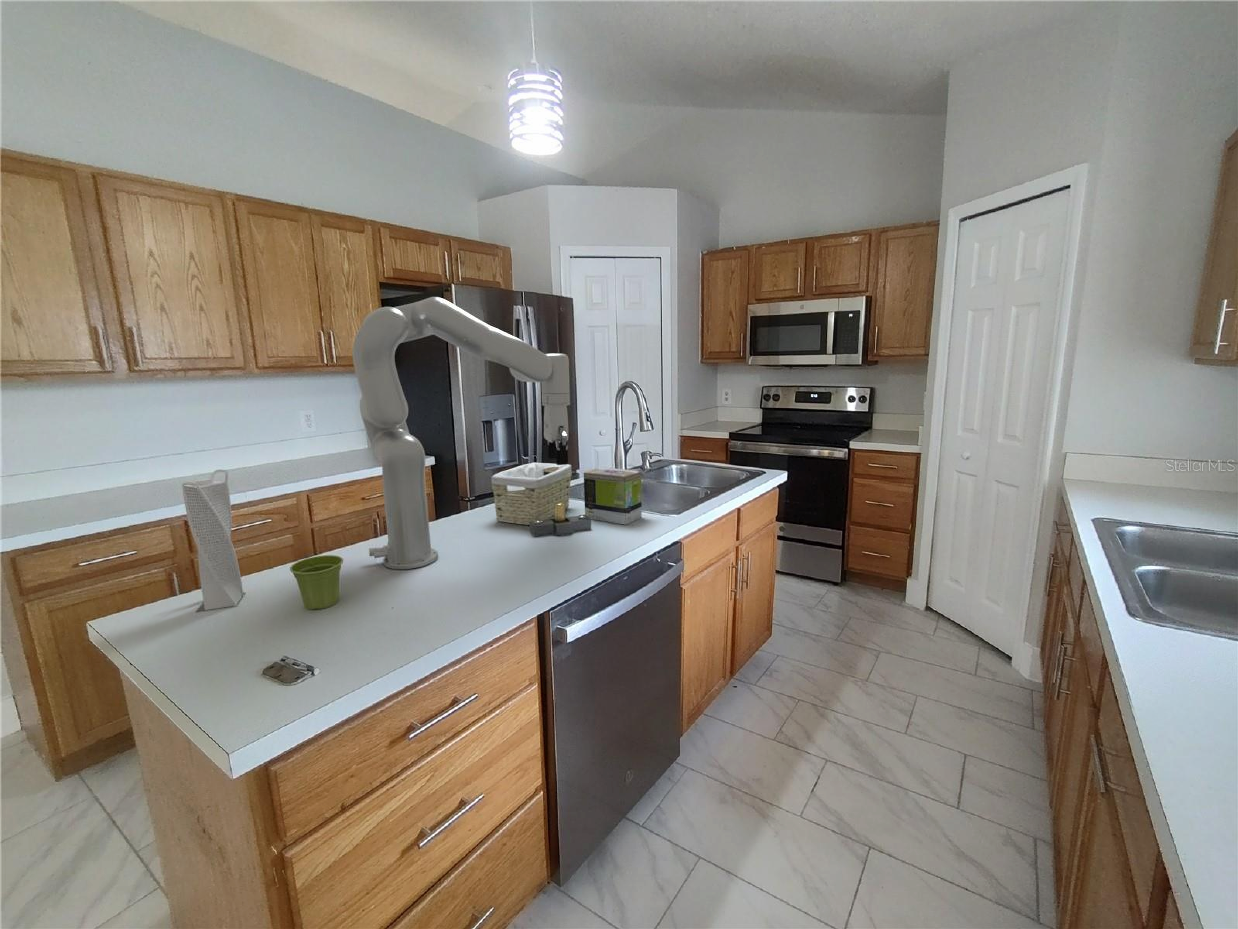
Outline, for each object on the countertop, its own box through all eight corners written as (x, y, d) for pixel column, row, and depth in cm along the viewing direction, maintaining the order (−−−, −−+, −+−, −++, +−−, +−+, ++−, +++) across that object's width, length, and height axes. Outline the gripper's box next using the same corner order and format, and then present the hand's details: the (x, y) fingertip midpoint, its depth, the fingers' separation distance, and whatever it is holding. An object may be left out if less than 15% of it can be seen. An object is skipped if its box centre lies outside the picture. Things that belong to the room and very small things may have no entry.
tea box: (642, 517, 169) (642, 470, 166) (625, 526, 161) (625, 476, 158) (602, 510, 177) (601, 465, 174) (583, 518, 169) (582, 471, 166)
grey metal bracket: (535, 538, 150) (534, 526, 150) (529, 529, 158) (528, 517, 158) (593, 531, 156) (592, 519, 155) (584, 522, 164) (584, 511, 163)
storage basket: (532, 503, 187) (530, 460, 184) (575, 507, 181) (573, 463, 178) (491, 523, 165) (488, 475, 162) (538, 529, 159) (536, 479, 156)
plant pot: (357, 599, 114) (352, 560, 112) (312, 618, 106) (307, 576, 104) (330, 590, 119) (325, 552, 117) (285, 607, 111) (280, 567, 109)
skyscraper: (253, 593, 119) (234, 465, 113) (243, 608, 111) (222, 473, 106) (207, 599, 116) (184, 469, 110) (193, 616, 108) (169, 477, 103)
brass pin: (556, 532, 155) (555, 505, 154) (553, 529, 158) (552, 502, 157) (567, 531, 156) (566, 504, 155) (564, 528, 159) (563, 501, 158)
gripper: (535, 398, 157) (538, 457, 160) (549, 402, 141) (551, 468, 144) (561, 397, 159) (563, 455, 162) (577, 401, 143) (579, 466, 147)
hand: (557, 461), depth 153 cm, fingers open, 9 cm apart
